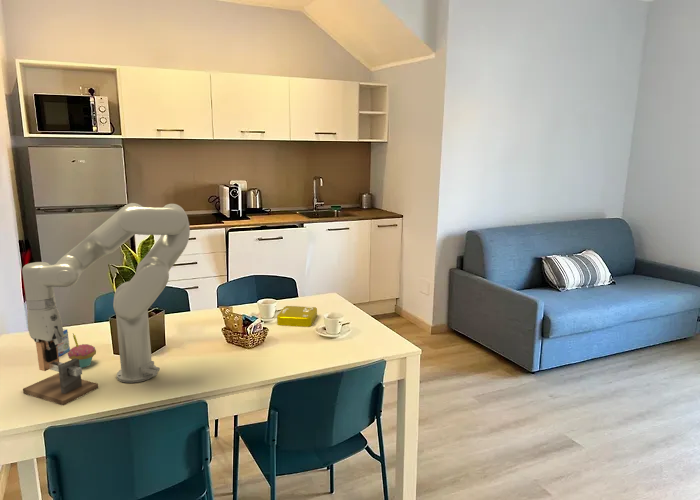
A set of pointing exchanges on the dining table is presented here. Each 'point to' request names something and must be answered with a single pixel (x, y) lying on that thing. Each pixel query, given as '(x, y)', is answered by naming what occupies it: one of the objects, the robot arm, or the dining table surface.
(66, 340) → the medicine box
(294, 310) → the element tile
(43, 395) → the eye board
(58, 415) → the dining table surface
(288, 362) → the dining table surface
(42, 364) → the tan grey angled piece
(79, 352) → the cupcake
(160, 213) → the robot arm
